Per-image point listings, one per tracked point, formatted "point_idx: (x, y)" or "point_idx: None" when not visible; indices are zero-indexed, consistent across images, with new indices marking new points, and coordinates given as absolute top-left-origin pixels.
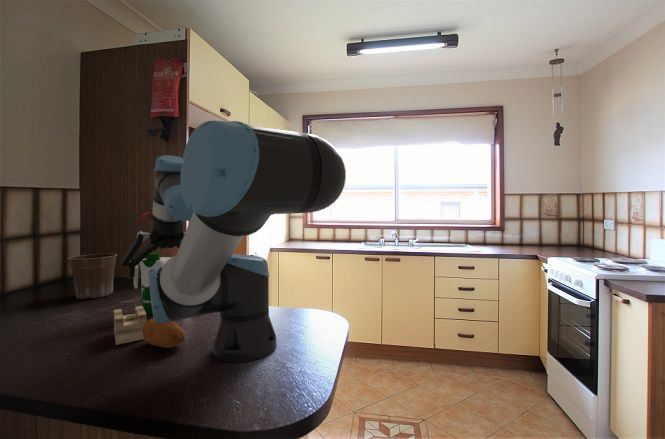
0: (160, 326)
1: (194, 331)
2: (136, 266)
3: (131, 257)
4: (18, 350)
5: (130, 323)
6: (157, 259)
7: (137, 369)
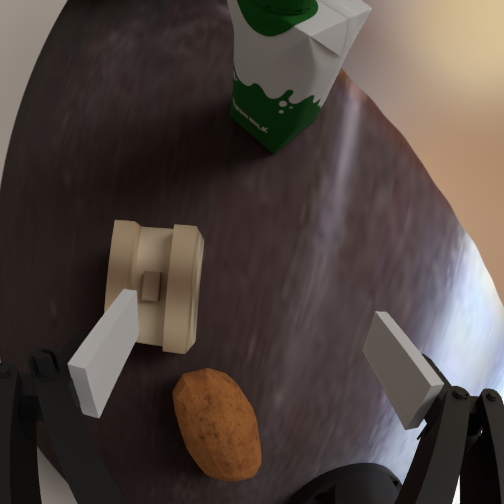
0: (204, 463)
1: (308, 369)
2: (86, 403)
3: (33, 463)
4: (6, 220)
5: (148, 332)
6: (301, 13)
7: (158, 482)
